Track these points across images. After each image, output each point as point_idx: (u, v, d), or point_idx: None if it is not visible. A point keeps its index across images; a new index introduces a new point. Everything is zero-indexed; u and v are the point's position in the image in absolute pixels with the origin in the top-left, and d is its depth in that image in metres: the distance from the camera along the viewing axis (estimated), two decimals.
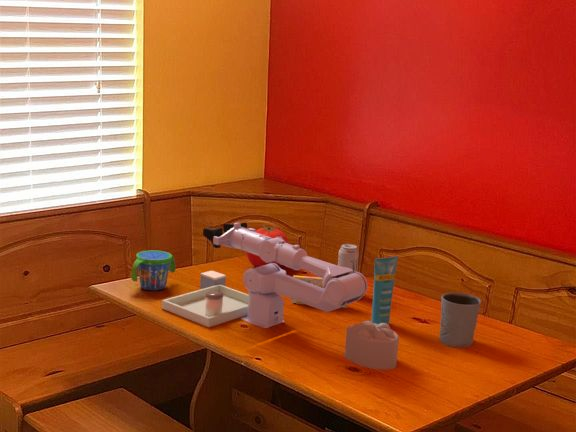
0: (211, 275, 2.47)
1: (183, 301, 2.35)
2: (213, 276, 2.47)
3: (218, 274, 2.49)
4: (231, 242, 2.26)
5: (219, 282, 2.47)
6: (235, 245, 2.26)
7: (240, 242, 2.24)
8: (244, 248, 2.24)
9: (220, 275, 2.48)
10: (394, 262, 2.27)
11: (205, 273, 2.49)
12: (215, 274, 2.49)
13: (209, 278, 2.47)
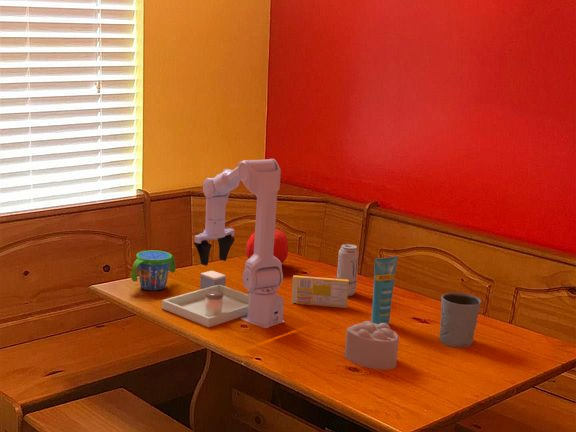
0: (211, 275, 2.47)
1: (183, 301, 2.35)
2: (213, 276, 2.47)
3: (218, 274, 2.49)
4: (210, 232, 2.43)
5: (219, 282, 2.47)
6: (212, 228, 2.42)
7: (208, 220, 2.43)
8: (210, 217, 2.42)
9: (220, 275, 2.48)
10: (394, 262, 2.27)
11: (205, 273, 2.49)
12: (215, 274, 2.49)
13: (209, 278, 2.47)
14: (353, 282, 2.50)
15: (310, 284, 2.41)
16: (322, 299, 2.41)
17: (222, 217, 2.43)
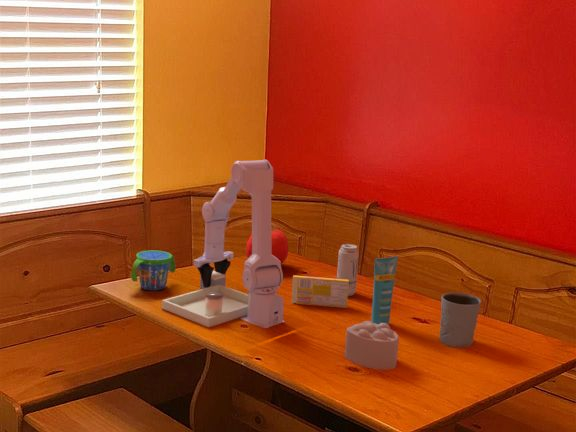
0: None
1: (183, 301, 2.35)
2: (213, 276, 2.47)
3: (218, 274, 2.49)
4: (209, 256, 2.45)
5: (219, 282, 2.47)
6: (211, 252, 2.44)
7: (207, 244, 2.44)
8: (209, 240, 2.44)
9: (220, 275, 2.48)
10: (394, 262, 2.27)
11: None
12: (215, 274, 2.49)
13: None
14: (353, 282, 2.50)
15: (310, 284, 2.41)
16: (322, 299, 2.41)
17: (221, 241, 2.44)
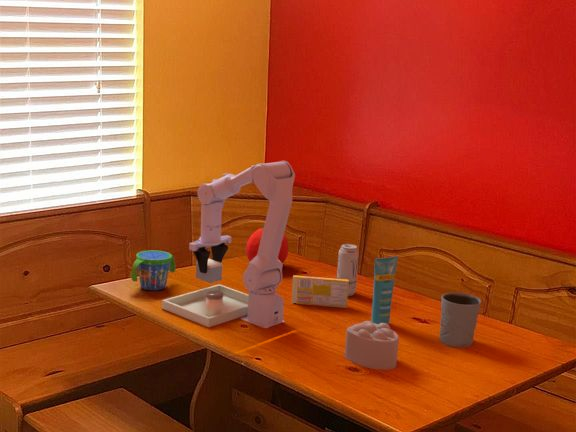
0: None
1: (183, 301, 2.35)
2: (209, 264, 2.37)
3: (214, 262, 2.39)
4: (205, 240, 2.34)
5: (215, 270, 2.37)
6: (208, 235, 2.34)
7: (203, 227, 2.34)
8: (208, 224, 2.33)
9: (216, 263, 2.38)
10: (394, 262, 2.27)
11: None
12: (211, 262, 2.39)
13: None
14: (353, 282, 2.50)
15: (310, 284, 2.41)
16: (322, 299, 2.41)
17: (219, 223, 2.35)
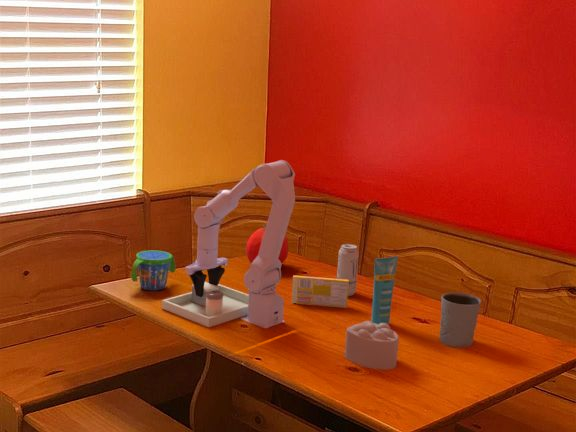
0: None
1: (183, 301, 2.35)
2: (205, 288, 2.33)
3: (210, 285, 2.35)
4: (202, 263, 2.31)
5: None
6: (204, 259, 2.30)
7: (200, 250, 2.30)
8: (206, 247, 2.29)
9: (212, 287, 2.34)
10: (394, 262, 2.27)
11: None
12: (207, 285, 2.35)
13: None
14: (353, 282, 2.50)
15: (310, 284, 2.41)
16: (322, 299, 2.41)
17: (217, 246, 2.31)
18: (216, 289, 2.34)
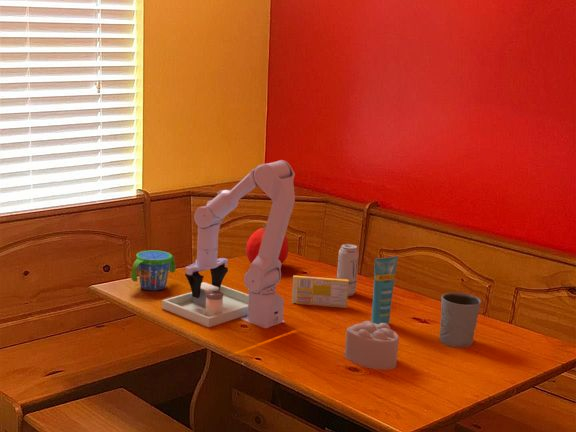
0: (203, 287, 2.34)
1: (183, 301, 2.35)
2: (205, 288, 2.33)
3: (210, 286, 2.35)
4: (202, 263, 2.31)
5: None
6: (204, 259, 2.30)
7: (200, 250, 2.30)
8: (206, 247, 2.29)
9: (213, 287, 2.34)
10: (394, 262, 2.27)
11: None
12: (207, 286, 2.35)
13: (201, 290, 2.33)
14: (353, 282, 2.50)
15: (310, 284, 2.41)
16: (322, 299, 2.41)
17: (217, 246, 2.31)
18: (216, 290, 2.34)
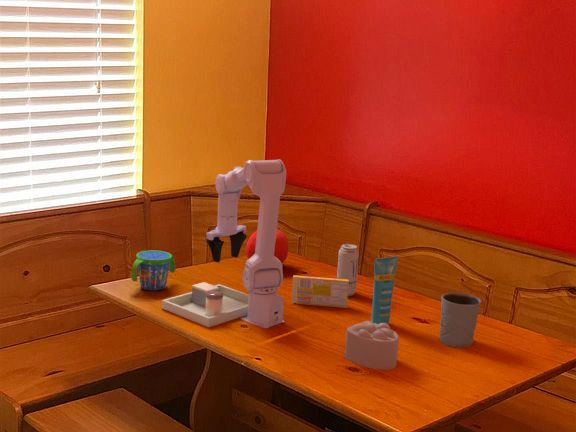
0: (203, 287, 2.34)
1: (183, 301, 2.35)
2: (205, 288, 2.33)
3: (210, 286, 2.35)
4: (222, 229, 2.42)
5: None
6: (224, 225, 2.42)
7: (220, 217, 2.42)
8: (221, 213, 2.41)
9: (213, 287, 2.34)
10: (394, 262, 2.27)
11: (197, 285, 2.36)
12: (207, 286, 2.35)
13: (201, 290, 2.33)
14: (353, 282, 2.50)
15: (310, 284, 2.41)
16: (322, 299, 2.41)
17: (233, 214, 2.42)
18: (216, 290, 2.34)
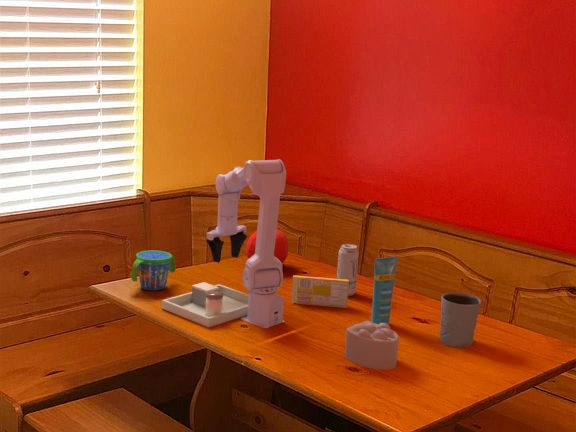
0: (203, 287, 2.34)
1: (183, 301, 2.35)
2: (205, 288, 2.33)
3: (210, 286, 2.35)
4: (222, 229, 2.42)
5: None
6: (224, 225, 2.42)
7: (220, 217, 2.42)
8: (221, 213, 2.41)
9: (213, 287, 2.34)
10: (394, 262, 2.27)
11: (197, 285, 2.36)
12: (207, 286, 2.35)
13: (201, 290, 2.33)
14: (353, 282, 2.50)
15: (310, 284, 2.41)
16: (322, 299, 2.41)
17: (234, 214, 2.42)
18: (216, 290, 2.34)
